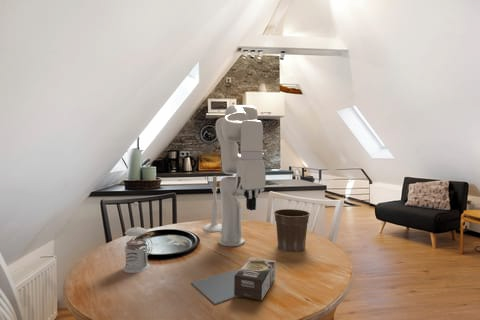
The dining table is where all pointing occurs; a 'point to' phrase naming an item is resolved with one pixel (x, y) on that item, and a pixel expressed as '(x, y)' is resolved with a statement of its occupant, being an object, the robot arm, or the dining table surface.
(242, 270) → the coffee box
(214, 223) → the candlestick
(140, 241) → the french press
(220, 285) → the mat
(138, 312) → the dining table surface
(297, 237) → the plant pot
